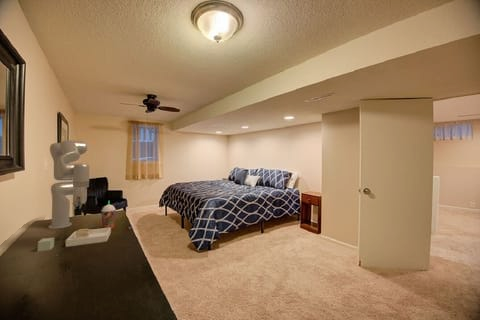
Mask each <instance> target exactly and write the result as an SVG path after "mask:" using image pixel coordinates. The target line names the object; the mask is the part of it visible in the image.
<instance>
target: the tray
mask: <svg viewBox="0 0 480 320" xmlns="http://www.w3.org/2000/svg"><path fill="white" fill-rule="evenodd" d="M77 231H78V230H75V231H74V232H72V234H70V236H69V237H67V239H65V247H67V248H68V247H74V246H82V245H90V244H98V243H104V242H107V241H108V240H109V237H110V235H111V233H112V230H111V228H102V227H101V228H95V229H93V228H92V229H89V231H88V237H86V238H77V239H76V232H77Z"/></svg>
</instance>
